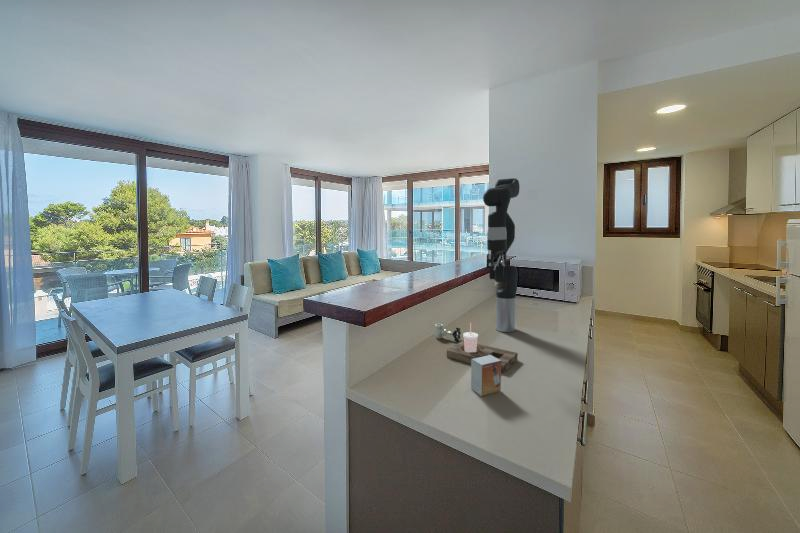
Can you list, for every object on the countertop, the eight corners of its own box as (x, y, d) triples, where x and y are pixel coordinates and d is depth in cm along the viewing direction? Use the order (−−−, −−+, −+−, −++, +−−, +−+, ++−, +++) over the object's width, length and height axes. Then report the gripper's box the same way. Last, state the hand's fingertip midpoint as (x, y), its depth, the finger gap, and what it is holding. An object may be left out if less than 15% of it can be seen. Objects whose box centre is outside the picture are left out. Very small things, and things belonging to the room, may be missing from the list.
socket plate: (463, 346, 142) (463, 340, 141) (517, 360, 126) (517, 353, 126) (446, 356, 131) (446, 349, 130) (503, 373, 116) (503, 365, 115)
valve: (432, 339, 152) (455, 343, 145) (432, 325, 151) (455, 329, 145) (438, 335, 158) (461, 339, 151) (438, 322, 157) (461, 325, 150)
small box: (481, 397, 100) (481, 365, 99) (470, 388, 105) (470, 358, 104) (501, 391, 103) (501, 360, 102) (489, 383, 108) (490, 354, 107)
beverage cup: (465, 351, 136) (465, 319, 134) (479, 353, 133) (479, 321, 131) (461, 356, 131) (461, 323, 129) (475, 359, 128) (476, 325, 126)
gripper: (495, 237, 137) (495, 274, 140) (480, 239, 127) (480, 279, 129) (512, 237, 133) (512, 275, 135) (498, 239, 122) (498, 281, 124)
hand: (496, 277), depth 132 cm, fingers open, 8 cm apart
